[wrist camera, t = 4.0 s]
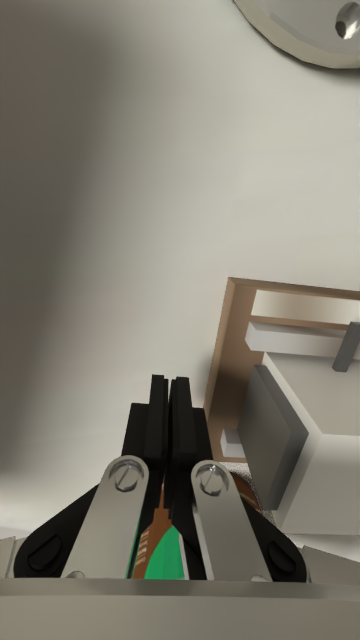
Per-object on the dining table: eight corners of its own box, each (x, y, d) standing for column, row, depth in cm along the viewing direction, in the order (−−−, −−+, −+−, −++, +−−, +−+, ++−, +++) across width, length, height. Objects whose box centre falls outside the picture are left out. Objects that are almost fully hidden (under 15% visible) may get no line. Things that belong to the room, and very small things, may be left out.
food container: (306, 486, 19) (433, 740, 10) (258, 531, 21) (327, 778, 12) (160, 430, 16) (148, 709, 7) (120, 488, 18) (72, 764, 9)
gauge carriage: (232, 428, 14) (263, 532, 10) (264, 305, 11) (329, 367, 7) (344, 435, 15) (424, 537, 10) (400, 319, 12) (547, 386, 7)
